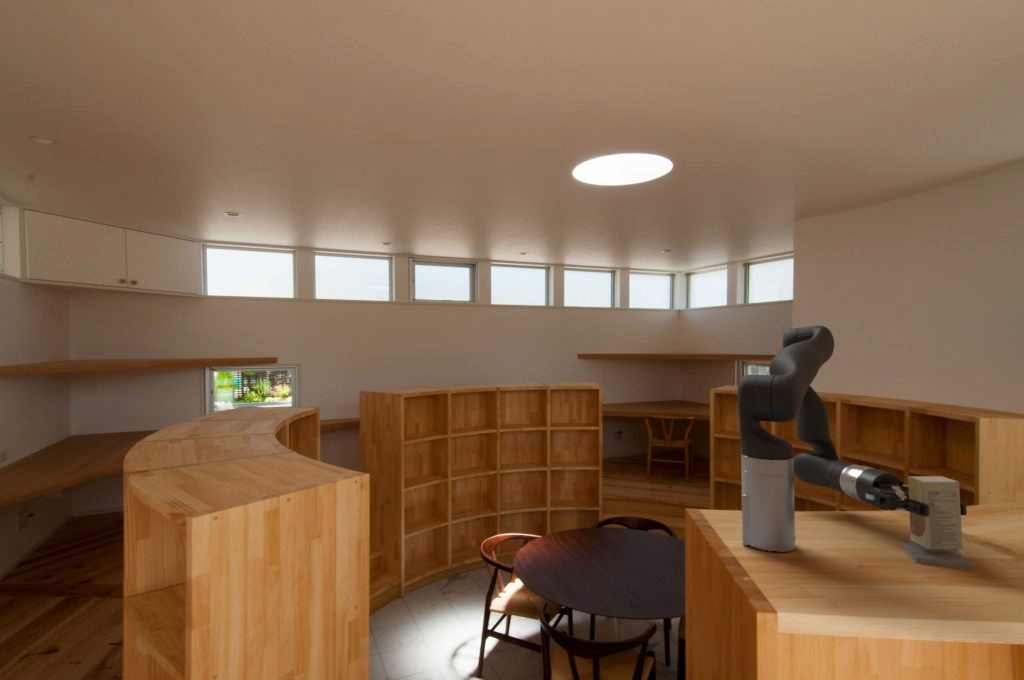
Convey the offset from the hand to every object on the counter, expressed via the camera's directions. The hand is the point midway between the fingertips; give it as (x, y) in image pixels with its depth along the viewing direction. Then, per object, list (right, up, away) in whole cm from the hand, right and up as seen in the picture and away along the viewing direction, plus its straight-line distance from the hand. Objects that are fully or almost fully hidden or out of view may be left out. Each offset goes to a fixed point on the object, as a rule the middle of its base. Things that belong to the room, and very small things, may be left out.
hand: (945, 510), depth 88 cm
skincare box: (0, -7, +2) cm, 8 cm away
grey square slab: (0, -9, +2) cm, 10 cm away
